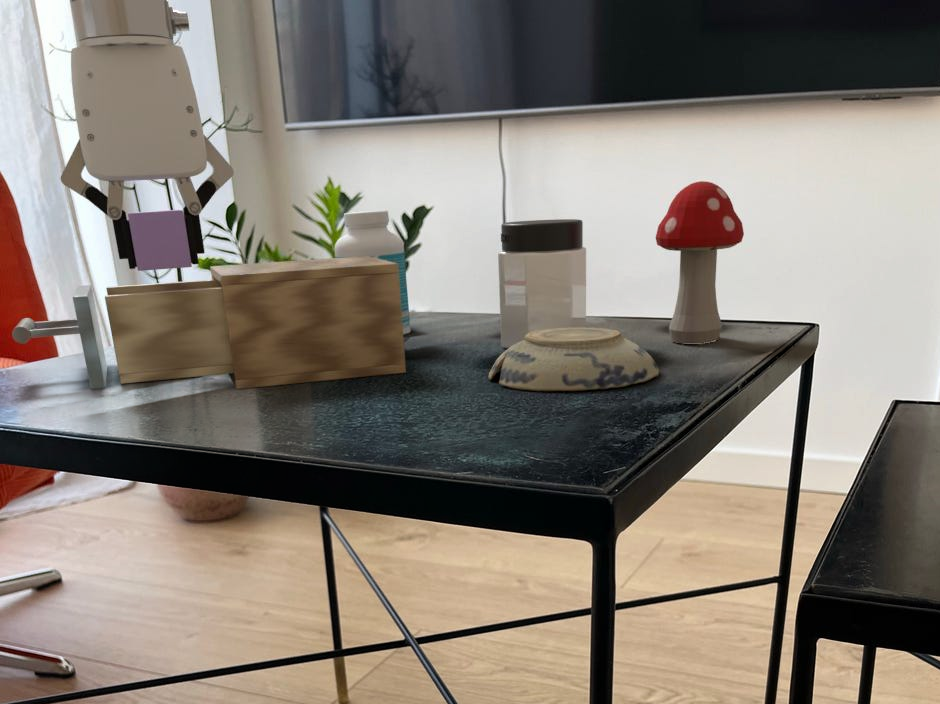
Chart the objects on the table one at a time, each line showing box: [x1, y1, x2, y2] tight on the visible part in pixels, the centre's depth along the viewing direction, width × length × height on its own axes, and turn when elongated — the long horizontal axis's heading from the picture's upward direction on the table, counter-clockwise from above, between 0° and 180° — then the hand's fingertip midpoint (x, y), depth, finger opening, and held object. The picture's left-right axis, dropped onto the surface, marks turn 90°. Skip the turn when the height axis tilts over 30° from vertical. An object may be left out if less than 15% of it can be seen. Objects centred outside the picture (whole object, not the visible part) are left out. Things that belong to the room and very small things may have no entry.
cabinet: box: [209, 256, 407, 390], centre depth 96 cm, size 16×13×10 cm
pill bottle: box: [334, 209, 411, 343], centre depth 110 cm, size 8×7×14 cm
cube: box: [127, 209, 193, 272], centre depth 90 cm, size 5×5×5 cm
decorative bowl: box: [487, 326, 660, 393], centre depth 89 cm, size 15×4×15 cm
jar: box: [497, 218, 587, 350], centre depth 103 cm, size 9×8×12 cm
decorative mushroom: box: [655, 180, 745, 344], centre depth 102 cm, size 10×9×15 cm
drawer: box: [11, 279, 234, 390], centre depth 92 cm, size 20×11×8 cm, turn 108°
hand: (163, 263), depth 91 cm, fingers closed on cube, 4 cm apart
